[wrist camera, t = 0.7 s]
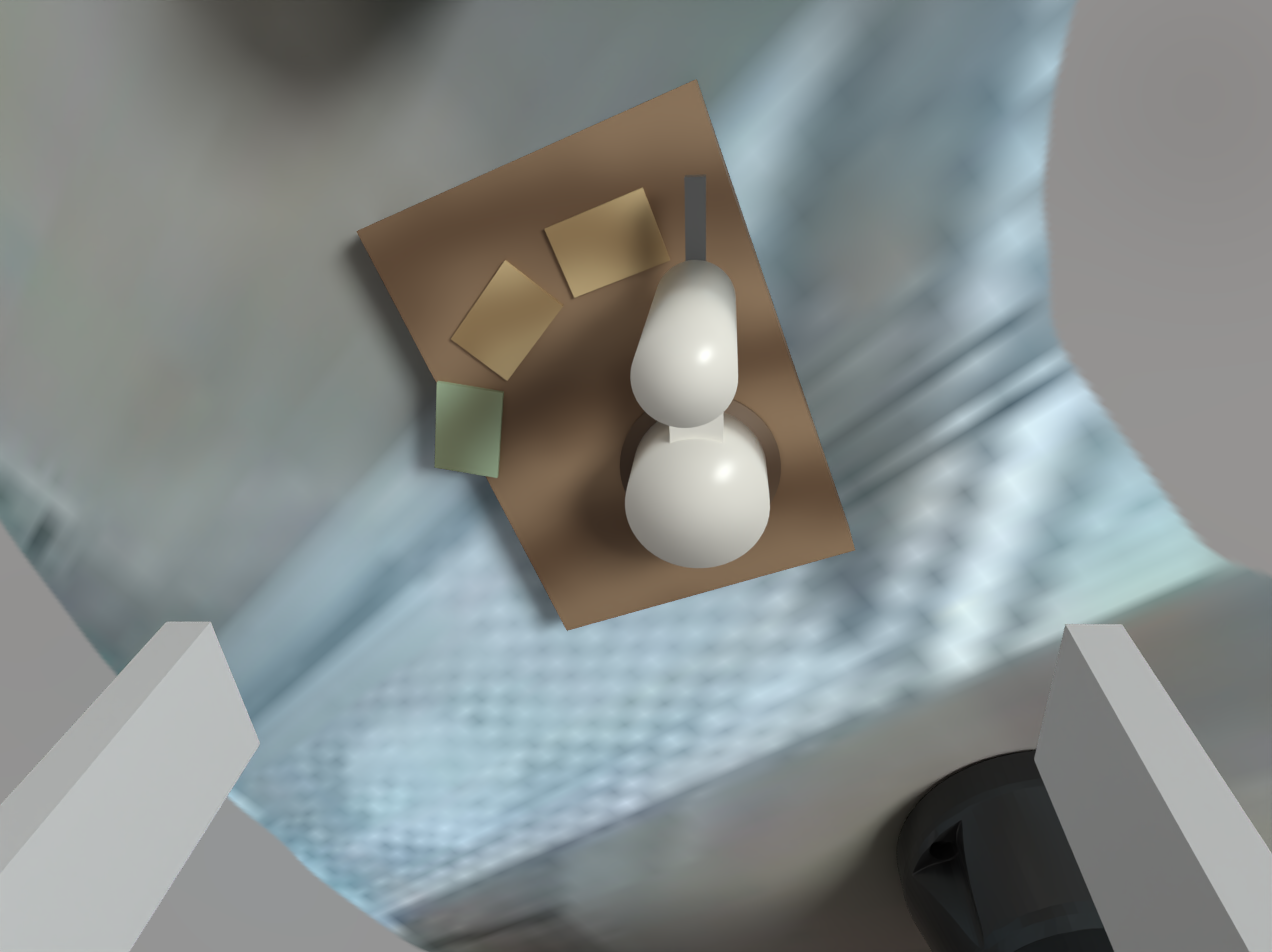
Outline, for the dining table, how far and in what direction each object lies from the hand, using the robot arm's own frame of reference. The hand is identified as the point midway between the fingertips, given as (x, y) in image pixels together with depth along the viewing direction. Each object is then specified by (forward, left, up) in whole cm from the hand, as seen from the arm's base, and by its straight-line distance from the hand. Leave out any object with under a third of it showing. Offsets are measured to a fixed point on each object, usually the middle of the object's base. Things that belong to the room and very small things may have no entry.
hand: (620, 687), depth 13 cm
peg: (-2, 0, -21) cm, 21 cm away
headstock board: (-2, +4, -24) cm, 24 cm away
